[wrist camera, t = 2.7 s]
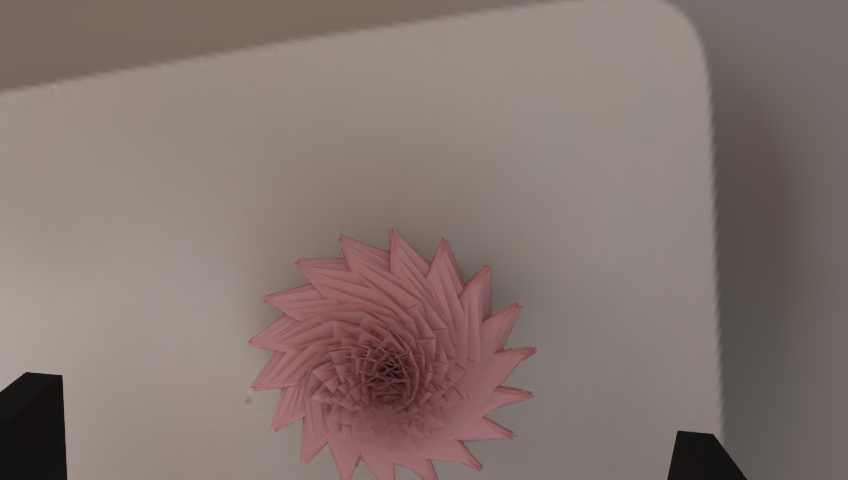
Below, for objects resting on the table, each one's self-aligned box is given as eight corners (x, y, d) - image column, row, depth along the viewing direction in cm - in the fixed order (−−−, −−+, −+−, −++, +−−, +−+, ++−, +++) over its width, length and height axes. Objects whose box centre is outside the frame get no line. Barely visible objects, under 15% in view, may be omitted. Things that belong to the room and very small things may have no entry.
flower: (561, 253, 22) (601, 317, 16) (467, 462, 24) (475, 581, 18) (323, 162, 21) (283, 199, 16) (247, 384, 23) (189, 484, 18)
